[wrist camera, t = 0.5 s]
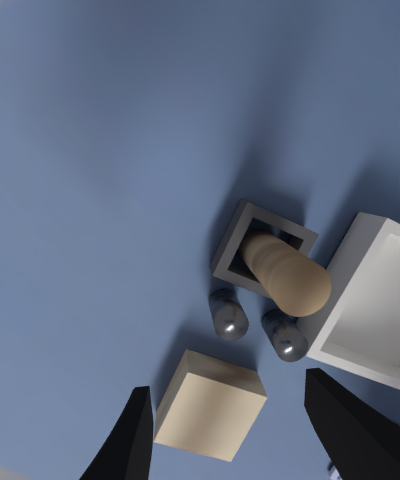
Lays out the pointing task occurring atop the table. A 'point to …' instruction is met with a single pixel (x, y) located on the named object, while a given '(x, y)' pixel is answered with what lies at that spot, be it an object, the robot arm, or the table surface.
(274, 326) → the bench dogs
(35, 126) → the table surface
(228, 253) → the dowel collar
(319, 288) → the dowel
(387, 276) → the tray
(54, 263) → the table surface
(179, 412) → the maple block
